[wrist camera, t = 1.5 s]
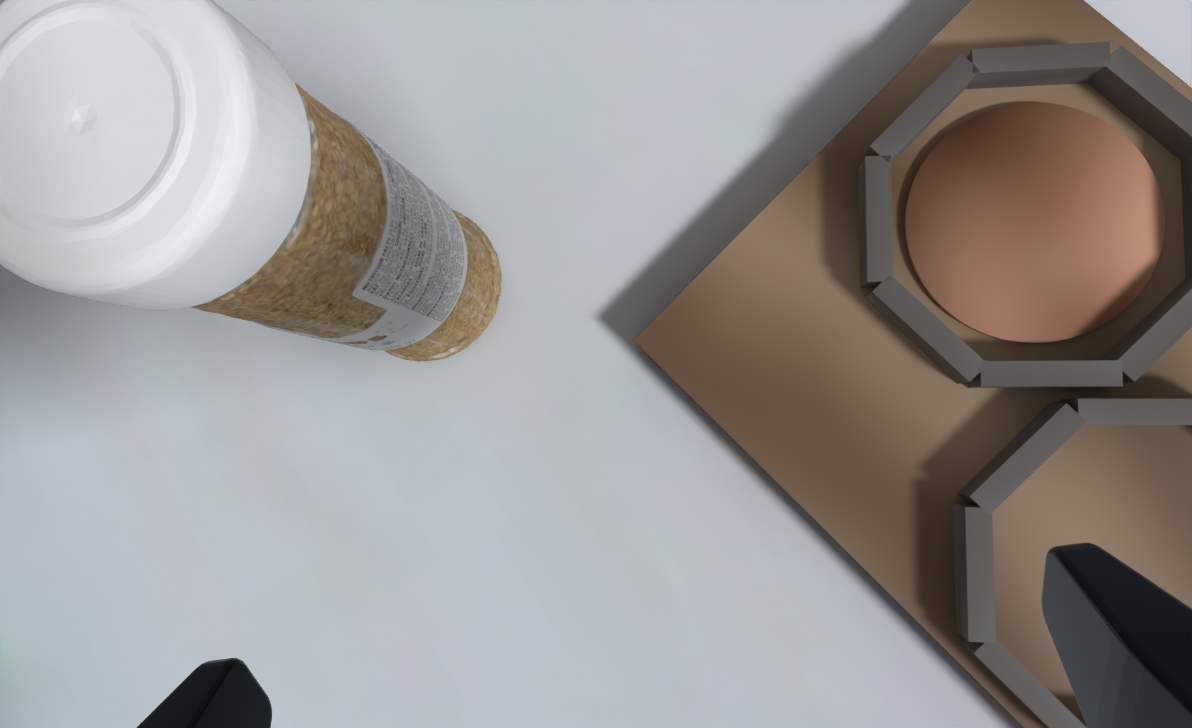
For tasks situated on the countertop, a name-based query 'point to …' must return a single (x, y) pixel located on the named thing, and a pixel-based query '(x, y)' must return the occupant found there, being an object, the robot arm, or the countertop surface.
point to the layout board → (974, 332)
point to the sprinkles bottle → (218, 184)
